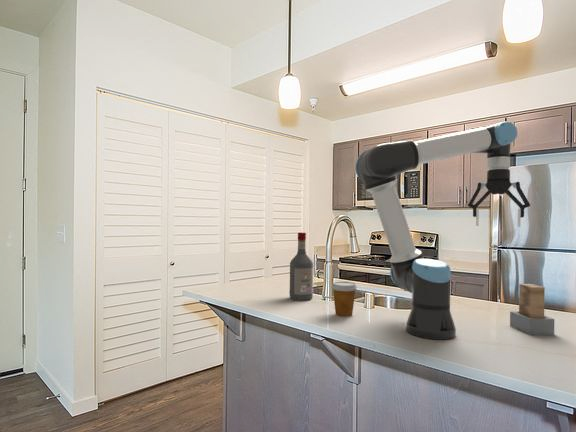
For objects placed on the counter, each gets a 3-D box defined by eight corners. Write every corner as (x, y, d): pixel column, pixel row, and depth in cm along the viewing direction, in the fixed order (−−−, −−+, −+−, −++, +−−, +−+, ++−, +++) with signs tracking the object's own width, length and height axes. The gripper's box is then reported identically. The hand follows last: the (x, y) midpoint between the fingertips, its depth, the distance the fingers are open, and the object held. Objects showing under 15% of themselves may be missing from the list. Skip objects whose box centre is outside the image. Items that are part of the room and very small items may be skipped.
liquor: (314, 300, 169) (315, 233, 168) (295, 301, 165) (296, 233, 165) (305, 295, 177) (306, 232, 177) (287, 297, 173) (288, 232, 173)
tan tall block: (518, 324, 130) (519, 283, 130) (531, 324, 131) (531, 284, 131) (530, 329, 124) (531, 287, 124) (544, 329, 125) (544, 287, 125)
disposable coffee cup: (361, 314, 144) (361, 283, 144) (347, 319, 137) (347, 286, 137) (340, 310, 151) (341, 280, 151) (326, 314, 144) (326, 283, 144)
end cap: (509, 325, 132) (510, 311, 132) (532, 325, 133) (533, 311, 133) (529, 334, 122) (529, 319, 122) (554, 334, 123) (554, 319, 123)
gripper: (536, 169, 139) (535, 226, 139) (462, 171, 150) (461, 225, 150) (539, 166, 132) (538, 227, 132) (461, 169, 143) (460, 225, 143)
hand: (497, 226), depth 141 cm, fingers open, 13 cm apart
